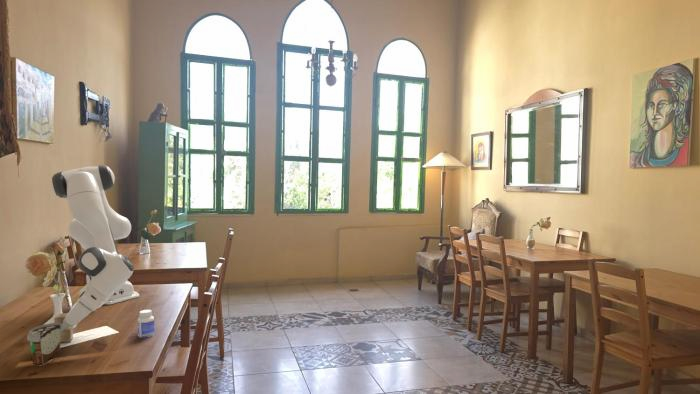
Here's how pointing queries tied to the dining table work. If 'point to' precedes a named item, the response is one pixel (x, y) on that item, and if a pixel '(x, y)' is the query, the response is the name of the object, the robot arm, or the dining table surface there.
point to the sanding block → (67, 332)
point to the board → (90, 335)
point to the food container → (44, 342)
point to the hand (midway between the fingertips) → (61, 327)
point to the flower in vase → (56, 297)
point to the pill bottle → (146, 324)
